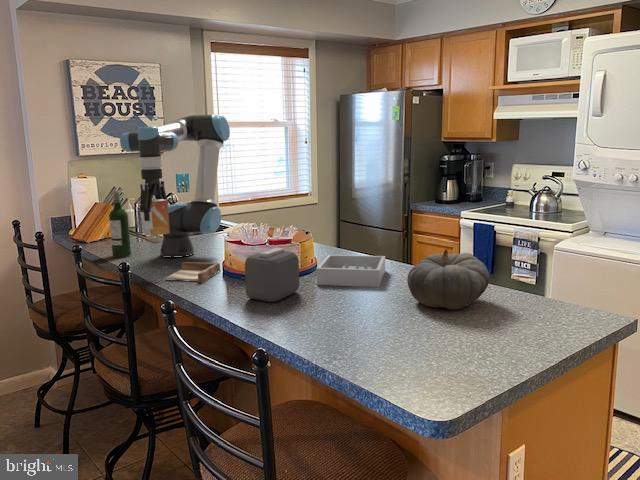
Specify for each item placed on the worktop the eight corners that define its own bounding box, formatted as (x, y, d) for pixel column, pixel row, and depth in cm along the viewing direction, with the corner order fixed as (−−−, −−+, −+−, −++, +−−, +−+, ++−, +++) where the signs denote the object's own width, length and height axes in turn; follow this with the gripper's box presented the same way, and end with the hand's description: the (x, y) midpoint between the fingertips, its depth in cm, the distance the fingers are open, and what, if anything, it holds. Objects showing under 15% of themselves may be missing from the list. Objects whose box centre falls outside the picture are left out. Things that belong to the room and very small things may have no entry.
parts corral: (328, 269, 218) (328, 254, 217) (385, 271, 214) (385, 256, 213) (316, 284, 197) (316, 268, 196) (379, 286, 192) (379, 270, 191)
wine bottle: (109, 257, 249) (102, 191, 244) (120, 253, 257) (114, 189, 251) (124, 258, 247) (118, 191, 241) (134, 254, 254) (129, 189, 249)
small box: (150, 236, 207) (147, 201, 204) (143, 234, 212) (139, 200, 209) (170, 233, 213) (167, 199, 210) (162, 231, 217) (159, 198, 214)
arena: (183, 270, 222) (183, 262, 221) (220, 271, 219) (219, 263, 218) (163, 281, 205) (162, 272, 205) (202, 283, 202) (201, 273, 202)
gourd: (491, 285, 181) (487, 236, 176) (492, 322, 159) (488, 267, 153) (414, 288, 189) (408, 241, 183) (406, 324, 166) (399, 271, 161)
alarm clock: (275, 288, 194) (273, 244, 191) (302, 292, 188) (301, 247, 185) (246, 300, 180) (244, 254, 177) (274, 305, 174) (272, 257, 171)
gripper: (156, 166, 219) (161, 221, 223) (125, 170, 197) (131, 231, 201) (174, 166, 217) (178, 222, 221) (145, 170, 196) (150, 232, 200)
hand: (156, 226), depth 211 cm, fingers closed on small box, 10 cm apart
